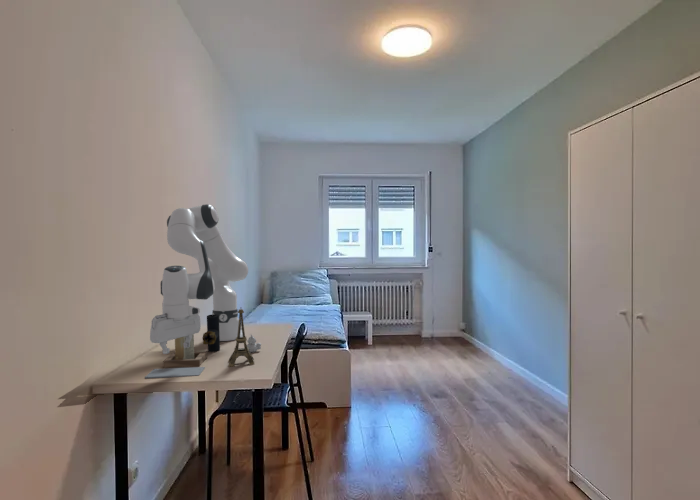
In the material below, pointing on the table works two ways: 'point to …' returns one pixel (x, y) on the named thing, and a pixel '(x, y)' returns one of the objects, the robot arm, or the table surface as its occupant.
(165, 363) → the walnut socket
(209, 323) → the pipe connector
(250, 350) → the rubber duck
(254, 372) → the table surface
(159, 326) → the robot arm
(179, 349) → the skincare box
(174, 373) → the grey mat
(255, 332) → the table surface
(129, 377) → the table surface
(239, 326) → the eiffel tower
